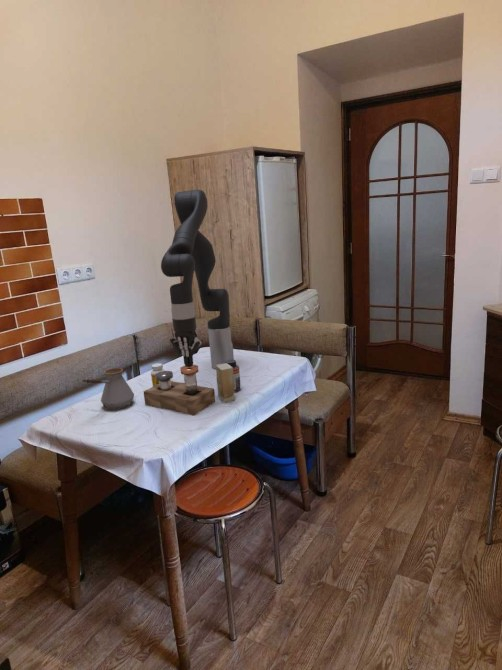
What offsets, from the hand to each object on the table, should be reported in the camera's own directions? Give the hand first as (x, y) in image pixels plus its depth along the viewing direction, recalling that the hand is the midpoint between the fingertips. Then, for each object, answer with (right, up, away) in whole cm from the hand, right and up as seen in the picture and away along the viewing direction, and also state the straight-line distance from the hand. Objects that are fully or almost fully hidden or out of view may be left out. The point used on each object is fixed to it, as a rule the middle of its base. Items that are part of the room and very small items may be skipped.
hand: (189, 366), depth 159 cm
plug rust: (+1, -10, +3) cm, 10 cm away
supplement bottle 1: (-14, -10, +23) cm, 28 cm away
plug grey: (-9, -12, +10) cm, 18 cm away
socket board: (-4, -13, +7) cm, 16 cm away
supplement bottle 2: (+14, -10, +16) cm, 24 cm away
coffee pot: (-28, -16, +5) cm, 33 cm away
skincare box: (+12, -12, +8) cm, 19 cm away
